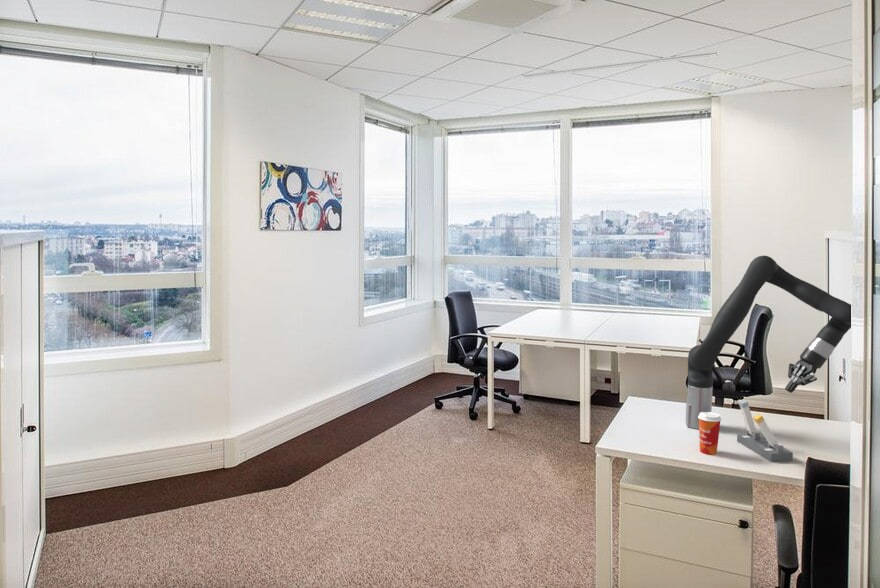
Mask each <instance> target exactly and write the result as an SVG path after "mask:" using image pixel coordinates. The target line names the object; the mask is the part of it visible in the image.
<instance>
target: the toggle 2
mask: <svg viewBox="0 0 880 588" xmlns="http://www.w3.org/2000/svg"><path fill="white" fill-rule="evenodd" d="M752 418H753V421H754V423H756V425H757V426H758V428H759V430H760V432H761V434H762V436H764V437H765V438H766V440H767V441H768V443H769V444H770V445H771V446H772V447H774V448H775V449H777V445H775V444H779V443H778V440H777V439H776V437H775V436H774V434H773V432H772V430H771V429H770V427H769V426H768V423H767V422H766V421H765V418H764V417H763V416H762V415H760V414H756V415H755V416H754V417H753V416H752Z"/></svg>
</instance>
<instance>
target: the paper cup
mask: <svg viewBox="0 0 880 588" xmlns="http://www.w3.org/2000/svg"><path fill="white" fill-rule="evenodd" d="M698 418H699V429H698V431H699V433H698V434H699V437H698V438H699V452H700V453H701V454H705V455H708V456H709V455H710V456H711V455H717V453H718V445H719V438H720V436H719V435H720V428H721V421H722V417H721V415H720V414H719V413H716V412H714V411H712V412H704V413H703V412H701V413H700V414H699V416H698Z"/></svg>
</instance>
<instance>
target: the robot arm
mask: <svg viewBox="0 0 880 588" xmlns="http://www.w3.org/2000/svg"><path fill="white" fill-rule="evenodd" d="M766 283H767V284H770V285H772V286H773V285H774V286H775V287H778V288H780V289H781V290H784V291H785V292H787V293H788V294H790V295H792V296H793V297H794V298H796V299H798V300H799V301H801V302H802V303H804V304H806V305H808V306H810V307H811V308H813V309H815V310H817V311H819V312H821V313H825V314H826V315H828V316H830V317H831V318H830V319H829V321H828V322H827V323H826V324H825V325H824V326H823V327H822V328H821V329H820V330H819V332H817V334H816V336H815V337H814V338H813V339H812V340H811V341H810V342H809V343H808V344H807V346H806V347H805V348H804V350H803V352H802V353H800V355H799V358H800V359H799V360H798V361H796V362H795V363H791V362H790V363H789V364H788V371H787V378H789V381H788V383H787V385H785V388H784V390H786V391H787V392H789V393H790V394H792V393H794V392H795V390H796V389H797V388H798V386H802V387H804V386H807V385H809V384H811V383H813V382H815V381H817V380H818V378H817V377H816V375H815V374H816V372H817V370H818V369H819V370H820V369H821V368H822V367H823V365H824V364H825V363H826V361H827V360H828V359H829V358H830V357H831V355H833V352H834V350H835V348H836V347H837V346H838V345H839V343H841V341H842V340H843V338H844V336H845V335H846V334H847V333H848V331H850V329H851V328H852V327H851V305H852V304H850V303H848V302H846V301H844V300H843V299H840V298H838V297H835V296H833V295H832V294H830V293H828V292H827V291H825V290H823V289H821V288H820V287H817V286H816V285H814V284H812V283H810V282H808V281H805V280H803V279H801V278H798V277H797V276H794V275H793V274H791V273H789V272H788V271H787V270H785V269H784V268H783V267H781V266H780V265H779V264H778V263H777V261H776V260H774V258H772V257H770V256H769V255H758V256H757V257H756V256H755V258H753V259H752V260H751V261H750V264H749V265H748V268H747V269H746V271H745V273H744V274H743V276H742V279H740V282H739V283H738V285H737V286H736V288H735V289H733V291H732V292H731V294H730V295H729V296H728V298H727V299H726V300H725V301H724V303H723V304H722V306H721V307H720V308H719V311H717V314H716V315H715V317H714V319H713V322H712V324H711V326H710V329H709V332H708V333H707V335H706V336H705V338H704V339H703V341H702V342H701V343H700V345H699V344H698V345H695V346H693V347H692V348H691V349H690V350H689V352H688V355H687V356H688V357H687V396H686V397H687V400H686V404H685V405H686V406H685V425H686V427H687V428H690V429H695V430H699V418H698V416H699V414H700V413H701V412H703V413H704V412H713V411H712V410H713V409H712V407H713V388H714V386H713V384H714V380H713V366H715V363H716V362H717V359H718V358H719V355H720V354H721V352H722V350H723V348H724V346H725V345H726V343H728V341H730V339H731V337H732V336H733V335H734V334H735V333H736V331H737V330H738V328H739V327H740V326H741V324H742V323H743V322H744V320H745V319H746V317H747V315H748V314H749V312H750V310H751V308H752V305H753V304H754V301H755V298H756V296H757V295H758V293H759V291H760V290H761V288H762V287H764V285H765V284H766Z"/></svg>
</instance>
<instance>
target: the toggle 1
mask: <svg viewBox="0 0 880 588" xmlns="http://www.w3.org/2000/svg"><path fill="white" fill-rule="evenodd" d="M738 404H739V407H740V411H741V414H742V416H743V420H744V423H745V427H746V429H747V430H748V431H749V434H751V435H753V436H754V433H755V431H756V432H757V428H756V424H755V420H754V419H753V415H752V412H751V409H750V406H749V402H748V401H747V400H745V399H744V400H741V401H738Z"/></svg>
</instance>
